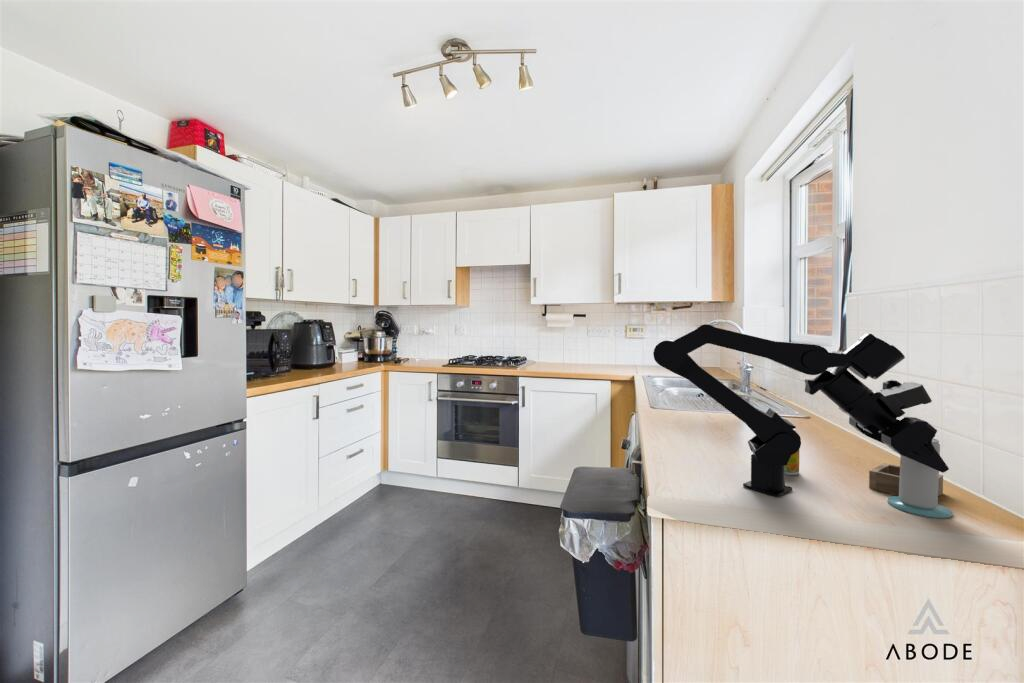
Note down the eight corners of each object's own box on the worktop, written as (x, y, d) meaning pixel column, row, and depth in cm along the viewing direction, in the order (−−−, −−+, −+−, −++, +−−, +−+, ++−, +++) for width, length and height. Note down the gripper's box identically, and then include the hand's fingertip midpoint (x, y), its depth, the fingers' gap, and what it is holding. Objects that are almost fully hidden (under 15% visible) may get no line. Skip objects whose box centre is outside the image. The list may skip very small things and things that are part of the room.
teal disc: (945, 522, 65) (945, 519, 65) (880, 505, 72) (881, 502, 72) (957, 511, 69) (957, 508, 69) (895, 495, 76) (895, 492, 76)
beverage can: (941, 513, 67) (945, 443, 67) (902, 506, 70) (905, 439, 69) (931, 503, 71) (934, 437, 71) (895, 496, 74) (897, 433, 73)
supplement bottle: (773, 473, 88) (773, 430, 88) (767, 466, 93) (768, 425, 93) (802, 477, 86) (803, 432, 86) (795, 469, 91) (795, 427, 91)
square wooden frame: (929, 503, 72) (930, 484, 72) (869, 487, 80) (869, 470, 80) (942, 493, 77) (943, 475, 77) (884, 479, 84) (884, 463, 84)
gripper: (920, 371, 63) (1018, 448, 59) (869, 363, 80) (941, 422, 76) (857, 416, 66) (945, 492, 62) (821, 399, 83) (888, 457, 79)
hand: (929, 462), depth 70 cm, fingers open, 9 cm apart
